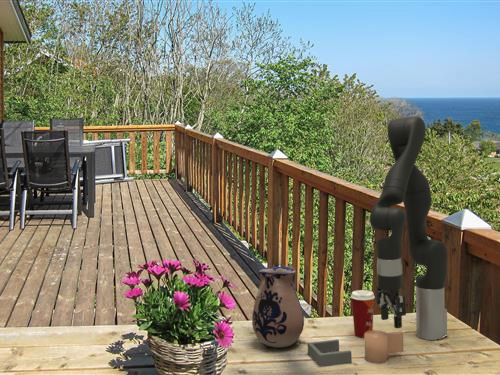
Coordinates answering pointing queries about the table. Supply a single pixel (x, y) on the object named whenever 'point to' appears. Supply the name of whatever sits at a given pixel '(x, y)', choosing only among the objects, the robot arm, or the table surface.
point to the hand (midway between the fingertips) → (391, 323)
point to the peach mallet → (382, 345)
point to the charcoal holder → (328, 358)
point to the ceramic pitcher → (277, 308)
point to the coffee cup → (362, 311)
